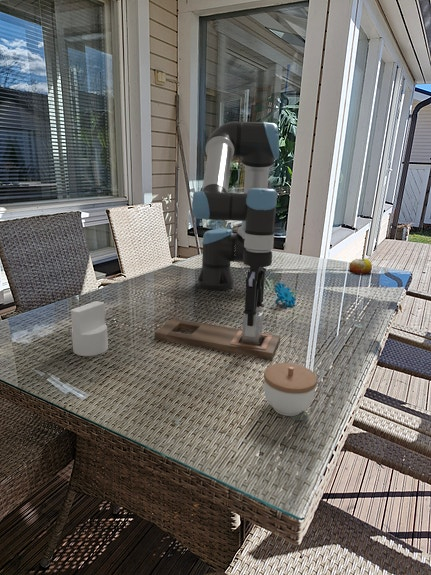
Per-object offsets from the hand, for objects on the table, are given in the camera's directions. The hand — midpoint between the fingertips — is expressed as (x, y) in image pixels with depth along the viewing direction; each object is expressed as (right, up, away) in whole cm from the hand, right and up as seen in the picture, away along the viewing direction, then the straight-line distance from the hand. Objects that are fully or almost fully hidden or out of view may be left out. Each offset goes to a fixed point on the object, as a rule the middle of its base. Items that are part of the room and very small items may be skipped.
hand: (252, 332), depth 111 cm
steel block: (0, -3, +1) cm, 3 cm away
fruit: (+61, +20, +88) cm, 109 cm away
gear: (+16, +6, +37) cm, 41 cm away
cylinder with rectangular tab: (-44, -4, -3) cm, 44 cm away
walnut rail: (-10, -3, +4) cm, 11 cm away
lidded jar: (+5, -13, -26) cm, 30 cm away
